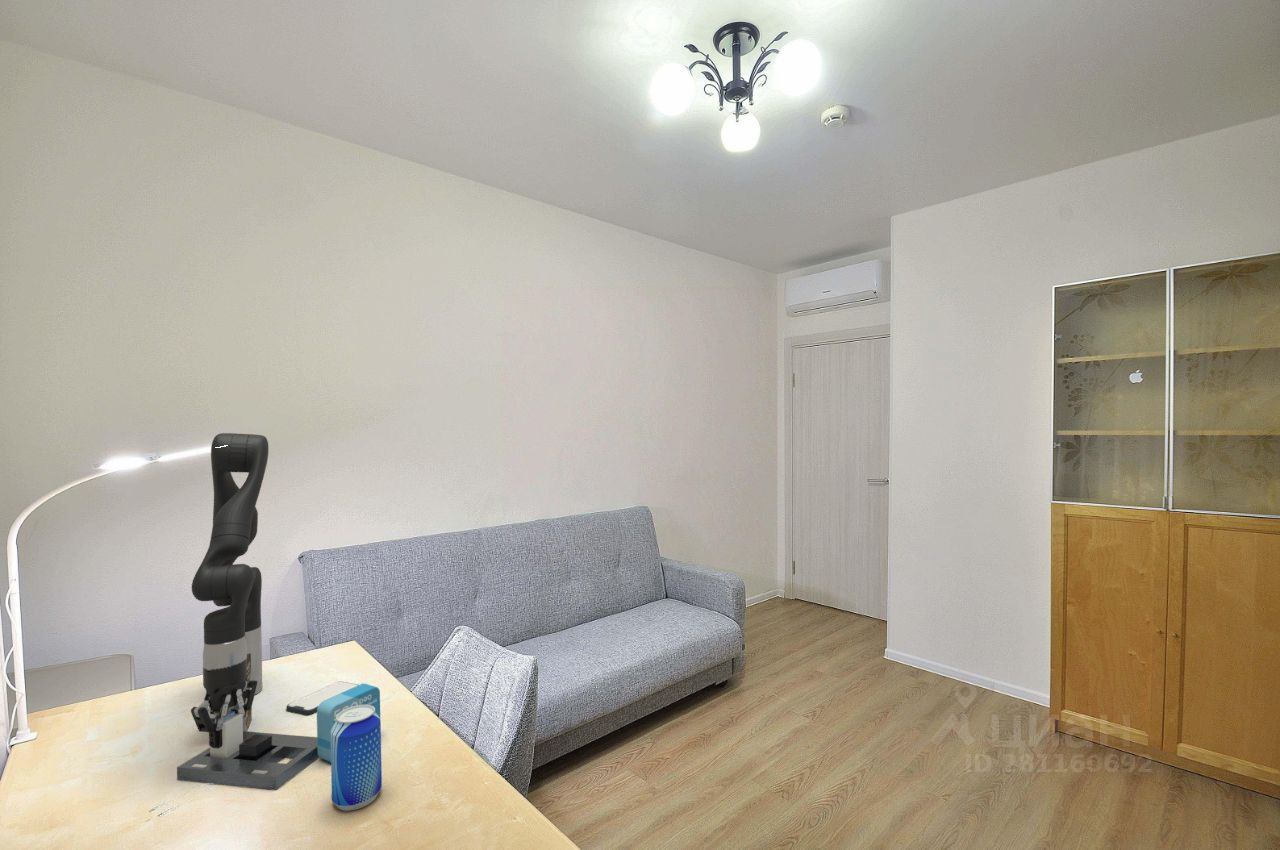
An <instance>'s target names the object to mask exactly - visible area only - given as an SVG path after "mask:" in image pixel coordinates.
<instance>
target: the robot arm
mask: <svg viewBox="0 0 1280 850" xmlns="http://www.w3.org/2000/svg"><path fill="white" fill-rule="evenodd" d="M224 445H228V446H226V447H221V448H215V447H220V446H224ZM210 447H211V448H210V461H211V473H212V474H211V475H212V485H213V510H212V511H213V512H212V529H211V534H210V541H209V545H208V548H207V551H206V553H205V555H204V557H203V560H202V562H201V563H200V565H199V567H198V569H197V571H196V572H195V575H194V577H193V578H192V582H191V593H192V595H193V597H194V598H195V599H196V600H197V601H199V602H213V604H214V605H215V607H216V606H217V607H223V608H220V609H217V610H214V611H211V612H209V613H208V614H206V615H205V617H204V620H203V649H202V650H203V651H202V682H203V683H202V685H203V687H204V689H205V695H204V698H203V701H202V702H201V703H200V704H199V705H198V706H193V707H192V708H191V709H190V714H191V716H192V718H193V720H194V722H195V723H194V724H195V726H196V729H197V731H198V732H199V733H201V732H202V733H208V741H209V742H208V745H209V747H210V746H211V747H212V748H220V747H222V729H221V728H222V723H223V719H224V718H225V717H226V713H227V709H229V711H235V714H243V716H244V715H245V712H246V711H247V710H250V709H251V708H252V709H253V702H254V698H255V695H257V694H258V693H260V692H262V690H263V651H262V649H263V647H262V646H263V644H262V612H261V611H262V603H261V602H262V586H263V584H262V583H263V582H262V581H263V579H262V572H261V570H260V568H259V567H257V566H252V567H251V566H250V565H249V564H245V563H236V564H234V563H235V562H236V560H238V558H239V557H241V556H242V557H243V556H244V555H245V554H246V553H247V552H248V550H249V547H250V546H251V544H252V543H253V541H254V539H255V538H256V537H257V534H258V525H259V524H258V522H259V519H258V518H259V513H258V512H259V511H258V509H257V507H256V505H257V502H258V499H259V495H260V492H261V488H262V484H263V480H264V476H265V473H266V469H267V465H268V459H269V447H270V446H269V441H268V439H267V437H266V436H264V435H261V434H253V433H252V434H251V433H233V432H232V433H231V432H221V433H218V434H216V435H215V436H214V438H213V440H212V442H211V446H210ZM232 473H248V474H247V477H246V480H244V483H243V484H242V486H240V487H239V486H238V484H237V483H236V482H235V480H234V478H233V475H232ZM247 654H251V680H245V679H246V677H247ZM246 698H247V703H246V704H245V701H246ZM215 711H217V712H220V713H216V712H215ZM215 719H216V724H214V723H215Z"/></svg>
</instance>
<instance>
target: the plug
mask: <svg viewBox="0 0 1280 850" xmlns="http://www.w3.org/2000/svg"><path fill="white" fill-rule="evenodd" d="M214 724H216V719H215V723H214ZM221 729H222V747H220V748H212V747H211V746H210V745H209V748H210V757H219V758H228V757H229V756H231V755H233V754H234V753H236V752H237V751H239V744H241V743H242V742H243V714H235V711H229V712H227V713H226V717H225V718H224V719H223V723H222V728H221Z"/></svg>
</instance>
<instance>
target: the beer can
mask: <svg viewBox="0 0 1280 850" xmlns="http://www.w3.org/2000/svg"><path fill="white" fill-rule="evenodd" d="M381 722H382V721H381V716H380V717H379V716H378V715H377V713H376V712H375V708H374V707H373V706H371V705H357V706H353V707H350V708H347V709H345V710H343V711H341V712H340V713H338V714H337V716H336V721H335V723H334V725H333V726H332V728H331V762H330V770H331V771H330V772H331V775H330V776H331V777H330V779H331V801H332V803H333V804H334V805H335V806H336V807H337V808H338V810H341V811H344V812H345V811H346V812H347V811H349V812H350V811H354V810H359V809H362V808H365V807H366V806H368V805H370V804H372V802H374V800H375V799H377V796H378V794H379V793H380V791H381V790H382V786H383V785H382V784H383V782H382V781H383V780H382V779H383V778H382V777H383V775H382V734H381V733H382V732H381V731H382V728H381V727H382V726H381V725H382V724H381Z"/></svg>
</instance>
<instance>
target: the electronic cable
mask: <svg viewBox="0 0 1280 850" xmlns="http://www.w3.org/2000/svg"><path fill="white" fill-rule="evenodd" d="M209 784H211V785H212V786H211V787H210V788H208V789H207V790H205V791H203V792H202V793H200V794H198V795H196V796H195V797H192V798H191V799H189V800H187V801H184V802H182V803H180V804H177V805H175V806H172V807H170V808H167V809H166V810H164V811H162V812H160V813H159V814H157V815H156V816H157V817H162V816H164V815H166V814H168V813H170V812H172V811H174V810H176V809H177V808H179V807H180V806H182V805H184V804H186V803H188V802H189V801H192V800H194V799H196V798H197V797H199V796H201V795H204V794H205V793H207V792H208V791H210V790H211V789H212V788H214V786H215V784H213V783H203V784H202V785H198V786H196V787H195V788H193V789H190V790H189V791H186V792H184V793H182V794H180V795H179V796H177V797H175V798H173V799H170V800H168V801H167V802H165V801H164V802H163V803H160V804H158V805H157V806H155V807H153V808H152V809H150V810H149V811H148V812H149V813H152V812H153V811H157V810H159V809H161V808H163V807H165V806H167V805H168V804H169V803H171V802H173V801H174V800H177V799H179V798H180V797H182V796H184V795H186V794H188V793H190V792H192V791H194V790H196V789H197V788H201V787H202V786H205V785H209Z"/></svg>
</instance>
